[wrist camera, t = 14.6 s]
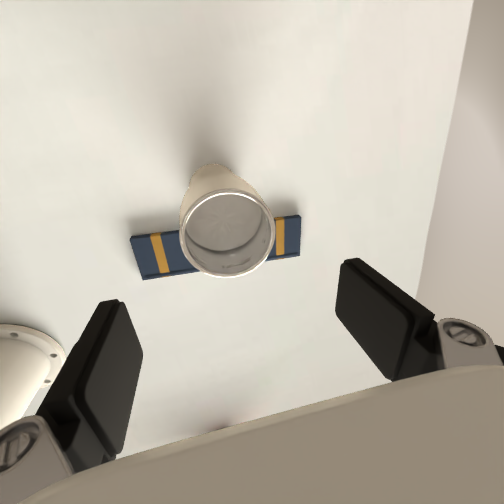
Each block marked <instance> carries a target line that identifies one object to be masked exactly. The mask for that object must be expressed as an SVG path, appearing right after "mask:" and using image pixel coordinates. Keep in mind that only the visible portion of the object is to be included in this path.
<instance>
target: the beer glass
mask: <svg viewBox="0 0 504 504" xmlns="http://www.w3.org/2000/svg"><path fill="white" fill-rule="evenodd" d="M179 229H180V231H179V239H180V245H181V248H182V251H183V253H184V255H185V256H186V258H187V259H188V261H189V262H190V263H191V264H192V265H193V266H194V267H195V268H197V269H198V270H200V271H201V272H203V273H205V274H208V275H211V276H214V277H221V278H230V277H237V276H240V275H243V274H246V273H248V272H250V271H252V270H254V269H255V268H256V267H258V266H259V265H260V264H261V263H262V262H263V261H264V260H265V259H266V257H267V256H268V255H269V253H270V251H271V249H272V247H273V244H274V240H275V223H274V219H273V216H272V214H271V212H270V210H269V208H268V207H267V206H266V204H265V203H264V201H263V199H262V198H261V196H260V195H259V194H258V192H257V191H256V190H255V189H254V188H253V187H252V186H251V185H250V184H249V183H248V182H247V181H245V180H244V179H242V178H241V177H239V176H237V175H235V174H234V173H233V172H232V171H231V170H230V169H228V168H227V167H225V166H223V165H220V164H207V165H204V166H202V167H200V168H199V169H197V170H196V171H195V173H194V174H193V175H192V177H191V179H190V183H189V188H188V190H187V191H186V193H185V195H184V197H183V200H182V203H181V207H180V215H179Z"/></svg>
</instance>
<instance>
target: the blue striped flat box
mask: <svg viewBox="0 0 504 504" xmlns="http://www.w3.org/2000/svg"><path fill="white" fill-rule="evenodd" d="M273 219H274V223H275V240H274V244H273V247H272V249H271V251H270V253H269V255H268V256H267V257H266V259H265V260H264V261H270V260H278V259H284V258H289V257H296V256H300V237H301V217H300V216H299V215H294V216H286V217H277V218H273ZM179 231H180V230H177V231H169V232H159V233H152V234H145V235H137V236H131V238H130V242H131V245H132V249H133V252H134V255H135V258H136V261H137V264H138V267H139V270H140V273H141V276H142V279H143V280H148V279H154V278H161V277H168V276H174V275H180V274H186V273H193V272H199V271H200V270H198V269H197V268H195V267H194V266H193V265H192V264H191V263H190V262H189V261H188V259H187V258H186V256H185V255H184V253H183V251H182V248H181V245H180V239H179ZM264 261H263V262H264Z"/></svg>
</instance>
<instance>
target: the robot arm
mask: <svg viewBox="0 0 504 504" xmlns="http://www.w3.org/2000/svg"><path fill="white" fill-rule="evenodd" d="M335 312H336V315H337V317H338V318H339V320H340V321H341V322H342V323H343V325H344V326H345V327H346V328H347V330H348V331H349V332H350V334H351V335H352V336H353V337H354V339H355V340H356V341H357V342H358V344H359V345H360V346H361V347H362V349H363V350H364V351H365V353H366V354H367V355H368V356H369V358H370V359H371V360H372V361H373V363H374V364H375V365H376V366H377V368H378V369H379V370H380V371H381V373H382V374H383V375H384V376H385V378H387V379H389V380H391V381H392V382H391V383H387V384H383V385H380V386H376V387H372V388H369V389H365V390H361V391H357V392H354V393H350V394H346V395H343V396H339V397H335V398H332V399H328V400H324V401H321V402H317V403H313V404H310V405H306V406H302V407H299V408H295V409H291V410H288V411H284V412H281V413H277V414H273V415H270V416H266V417H262V418H259V419H255V420H252V421H248V422H244V423H241V424H237V425H234V426H230V427H227V428H223V429H220V430H216V431H212V432H209V433H205V434H202V435H198V436H195V437H191V438H188V439H184V440H180V441H177V442H173V443H170V444H166V445H163V446H160V447H156V448H153V449H150V450H146V451H143V452H140V453H136V454H133V455H130V456H126V457H123V458H120V459H116V454H119V453H121V451H122V449H123V445H124V441H125V436H126V432H127V427H128V423H129V418H130V414H131V409H132V405H133V400H134V396H135V391H136V387H137V382H138V378H139V373H140V369H141V364H142V360H143V351H142V348H141V345H140V342H139V340H138V337H137V335H136V332H135V329H134V327H133V324H132V321H131V319H130V316H129V314H128V311H127V308H126V306H125V303H124V302H119V300H118V299H114V300H108V301H102V302H100V303H99V304H98V306H97V308H96V310H95V311H94V313H93V315H92V317H91V319H90V321H89V322H88V324H87V326H86V328H85V330H84V331H83V333H82V335H81V337H80V339H79V340H78V342H77V343H76V344H75V345H74V346H73V348H72V350H71V352H70V354H69V355H68V357H67V359H66V356H65V353H64V351H63V349H62V347H61V346H60V345H59V344H58V343H57V342H56V341H55V340H54V339H52V338H51V337H50V336H48V335H46V334H44V333H42V332H40V331H37V330H35V329H32V328H28V327H24V326H18V325H11V324H0V504H504V347H501V346H498V345H494V343H493V341H492V339H491V338H490V336H489V335H488V334H487V333H486V332H485V331H484V330H482V329H481V328H479V327H477V326H476V325H474V324H472V323H469V322H467V321H464V320H460V319H455V318H444V319H441V320H440V321H439V322H438V323H437V322H436V321H434V320H433V319H434V316H435V314H433V313H432V312H431V311H429V310H428V309H427V308H425V307H424V306H423V305H421V304H420V303H419V302H417V301H416V300H415V299H413V298H412V297H411V296H409V295H408V294H407V293H405V292H404V291H403V290H401V289H400V288H399V287H397V286H396V285H395V284H393V283H392V282H391V281H389V280H388V279H387V278H385V277H384V276H383V275H381V274H380V273H379V272H377V271H376V270H374V269H373V268H372V267H370V266H369V265H368V264H366V263H365V262H364V261H362V260H361V259H360V258H353V259H347V260H345V261H344V263H342V264H341V267H340V275H339V283H338V291H337V299H336V307H335ZM52 383H53V384H52ZM50 384H52V386H51V387H50V389H49V391H48V393H47V395H46V396H45V398H44V400H43V402H42V403H41V405H40V407H39V409H38V411H37V412H36V414H35V415H33V416H27V417H24V418H21V417H22V415H23V414H24V412H25V410H26V409H27V407H28V406H29V404H30V402H31V401H32V399H33V397H34V396H35V394H36V392H37V391H38V390H39V389H42V388H44V387H47V386H49V385H50ZM115 459H116V460H115Z"/></svg>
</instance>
